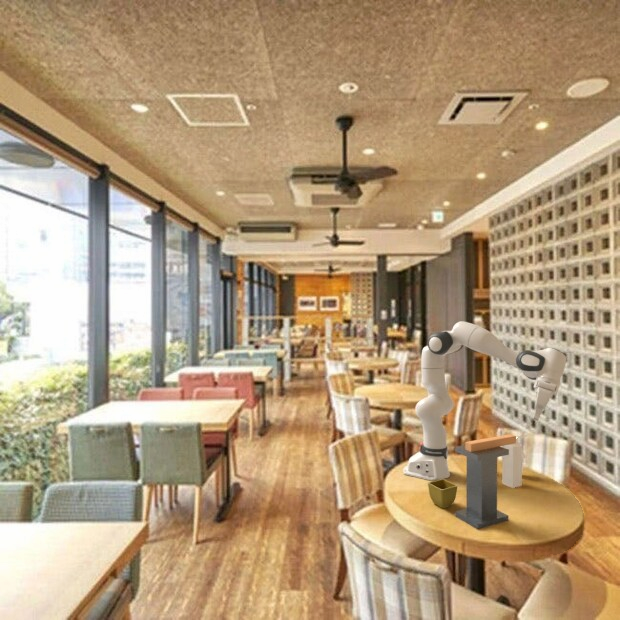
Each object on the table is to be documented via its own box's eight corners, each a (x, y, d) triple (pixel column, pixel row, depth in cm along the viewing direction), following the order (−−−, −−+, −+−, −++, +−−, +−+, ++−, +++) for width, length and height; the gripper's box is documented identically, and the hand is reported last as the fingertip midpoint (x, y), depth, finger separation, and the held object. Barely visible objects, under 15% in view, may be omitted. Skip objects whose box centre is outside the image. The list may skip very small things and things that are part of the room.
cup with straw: (507, 471, 236) (507, 431, 235) (526, 474, 232) (527, 433, 232) (507, 477, 228) (507, 436, 227) (527, 480, 224) (528, 438, 224)
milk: (502, 483, 220) (502, 437, 220) (511, 481, 223) (511, 435, 222) (513, 488, 215) (512, 440, 214) (522, 486, 217) (522, 438, 217)
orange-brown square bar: (471, 451, 181) (471, 444, 181) (465, 449, 183) (465, 441, 183) (515, 443, 191) (515, 435, 191) (509, 441, 194) (509, 434, 194)
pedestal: (477, 529, 177) (477, 455, 176) (455, 516, 188) (455, 446, 187) (508, 520, 184) (508, 449, 183) (485, 508, 195) (485, 441, 194)
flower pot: (441, 511, 192) (441, 489, 192) (427, 503, 200) (427, 482, 200) (457, 507, 196) (457, 485, 196) (442, 499, 204) (442, 478, 204)
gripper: (537, 387, 203) (527, 418, 201) (538, 380, 185) (528, 414, 183) (552, 392, 200) (543, 424, 198) (556, 386, 182) (545, 420, 180)
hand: (536, 419), depth 190 cm, fingers open, 8 cm apart
